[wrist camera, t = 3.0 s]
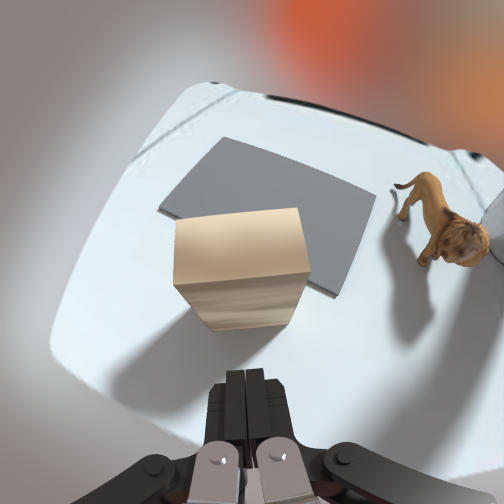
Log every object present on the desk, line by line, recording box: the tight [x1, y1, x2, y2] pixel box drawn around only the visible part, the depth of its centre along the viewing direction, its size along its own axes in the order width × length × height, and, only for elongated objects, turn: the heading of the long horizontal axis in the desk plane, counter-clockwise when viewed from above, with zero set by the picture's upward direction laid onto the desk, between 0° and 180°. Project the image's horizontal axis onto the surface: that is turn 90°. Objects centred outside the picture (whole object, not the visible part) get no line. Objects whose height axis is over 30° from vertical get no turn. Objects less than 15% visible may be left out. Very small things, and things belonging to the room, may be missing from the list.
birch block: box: [173, 208, 311, 331], centre depth 20 cm, size 4×7×12 cm, turn 95°
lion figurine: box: [394, 172, 490, 267], centre depth 24 cm, size 15×5×9 cm, turn 15°
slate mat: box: [159, 137, 376, 296], centre depth 31 cm, size 14×22×1 cm, turn 60°
